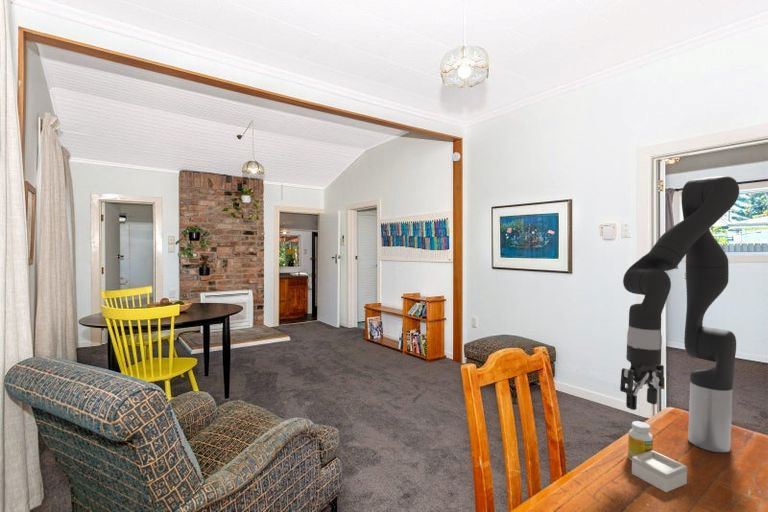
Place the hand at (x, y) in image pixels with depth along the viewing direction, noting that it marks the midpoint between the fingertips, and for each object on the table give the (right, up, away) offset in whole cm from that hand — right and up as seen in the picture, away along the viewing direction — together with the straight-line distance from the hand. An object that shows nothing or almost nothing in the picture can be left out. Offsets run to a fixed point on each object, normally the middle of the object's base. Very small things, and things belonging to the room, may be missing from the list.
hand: (641, 406), depth 102 cm
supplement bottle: (0, -15, +1) cm, 15 cm away
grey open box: (-1, -15, -7) cm, 17 cm away
